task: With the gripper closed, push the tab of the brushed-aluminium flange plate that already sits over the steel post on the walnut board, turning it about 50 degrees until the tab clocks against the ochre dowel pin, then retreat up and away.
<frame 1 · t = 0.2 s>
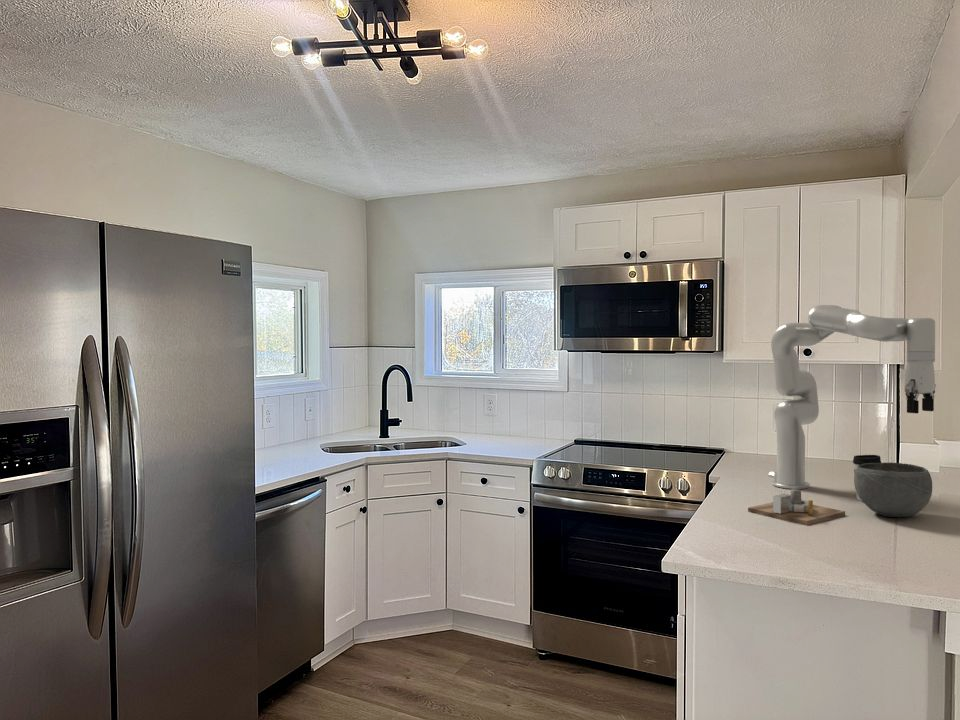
hand: (920, 412, 222), 31 cm above the counter, fingers open, 9 cm apart
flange: (791, 501, 219), point 4 cm above the counter, hinge at 0.0°
post base: (795, 513, 221), on the counter
coffee cup: (866, 500, 237), on the counter
bowl: (892, 515, 217), on the counter
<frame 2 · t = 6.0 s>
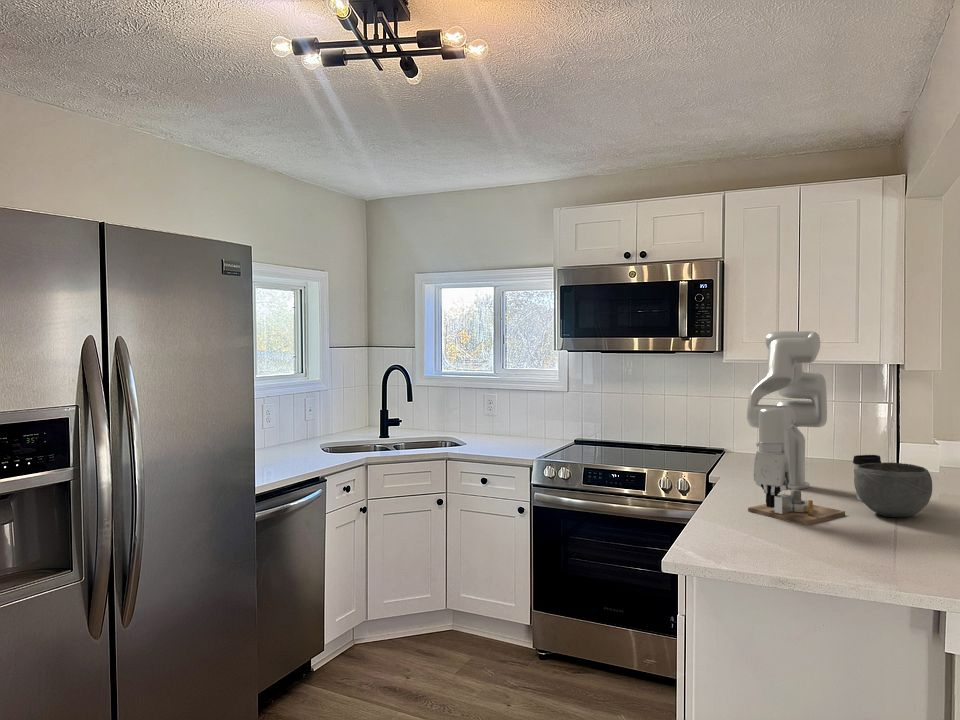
hand: (771, 506, 220), 2 cm above the counter, fingers closed
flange: (791, 501, 219), point 4 cm above the counter, hinge at 2.7°, touching gripper
everything else where it was.
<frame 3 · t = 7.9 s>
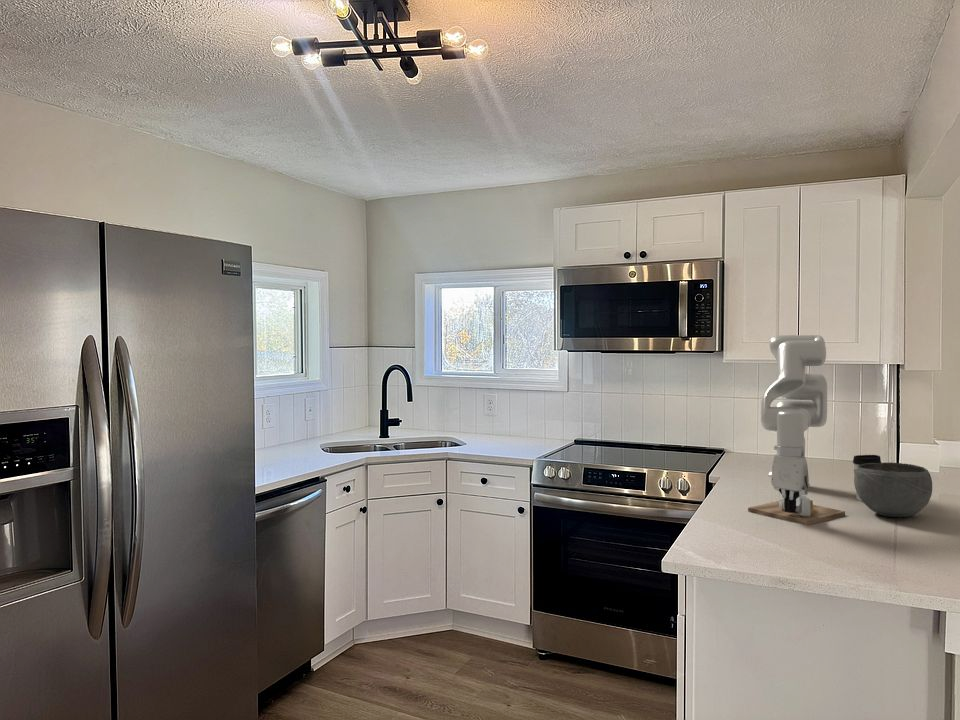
hand: (790, 511, 214), 2 cm above the counter, fingers closed
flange: (798, 502, 218), point 4 cm above the counter, hinge at 50.0°, touching gripper, post base
everything else where it was.
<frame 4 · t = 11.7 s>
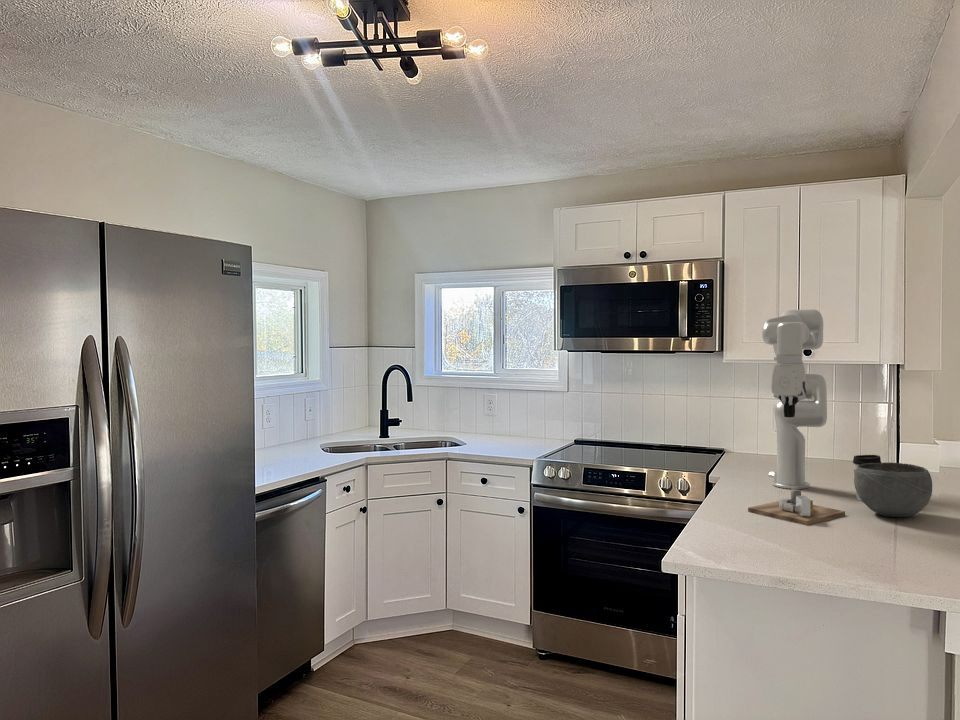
hand: (789, 416, 229), 29 cm above the counter, fingers closed
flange: (798, 502, 218), point 4 cm above the counter, hinge at 49.9°
everything else where it was.
at the end: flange at +50° (first picture: +0°) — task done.
